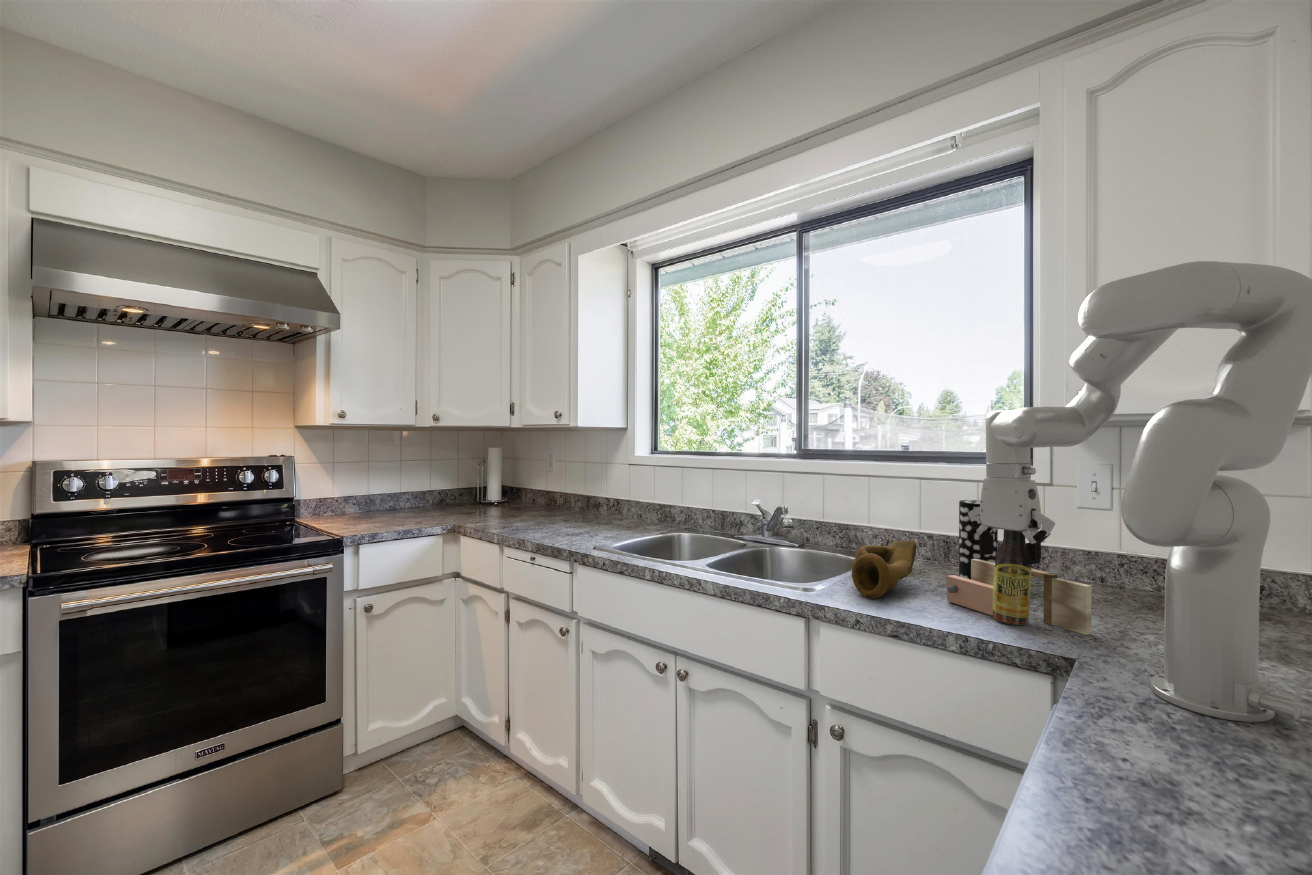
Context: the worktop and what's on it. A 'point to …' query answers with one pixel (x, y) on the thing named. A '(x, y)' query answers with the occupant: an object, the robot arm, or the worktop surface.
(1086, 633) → the door frame
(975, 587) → the door
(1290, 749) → the worktop surface
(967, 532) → the spotted tube
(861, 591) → the brown looped sculpture
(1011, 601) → the sauce bottle
